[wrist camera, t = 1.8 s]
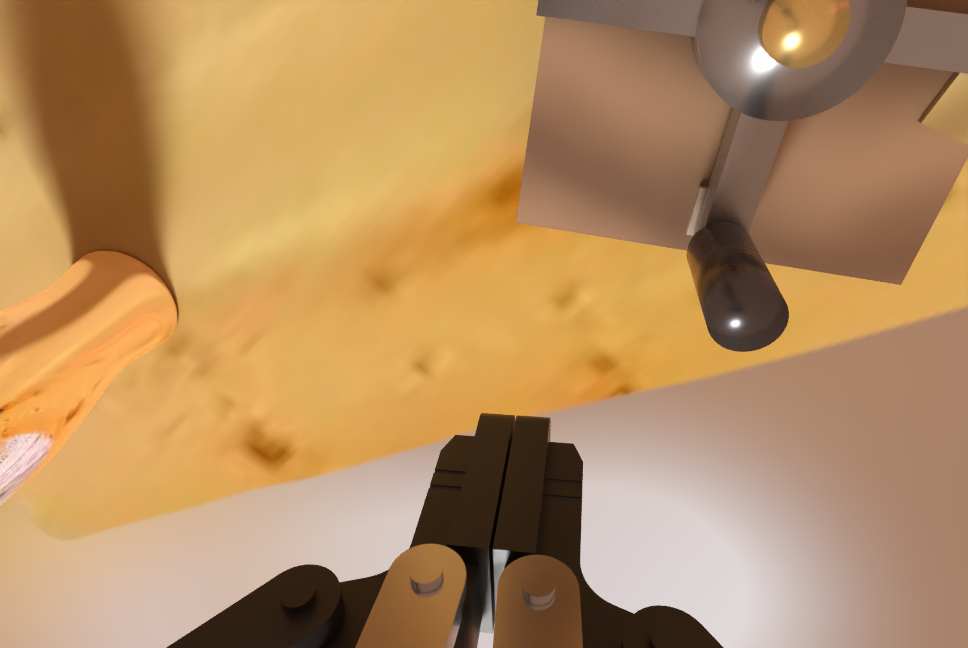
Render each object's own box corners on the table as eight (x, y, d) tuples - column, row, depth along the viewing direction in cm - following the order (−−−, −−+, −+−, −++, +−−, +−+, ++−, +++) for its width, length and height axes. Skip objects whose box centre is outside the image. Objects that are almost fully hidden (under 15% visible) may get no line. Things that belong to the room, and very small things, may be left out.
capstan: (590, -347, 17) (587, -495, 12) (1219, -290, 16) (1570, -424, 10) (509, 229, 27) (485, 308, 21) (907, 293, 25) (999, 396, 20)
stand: (592, -354, 19) (591, -389, 17) (1171, -301, 18) (1241, -332, 16) (513, 205, 28) (507, 224, 26) (887, 264, 27) (909, 288, 25)
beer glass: (95, 215, 32) (-232, 390, 19) (207, 303, 34) (-24, 515, 21) (48, 295, 35) (-258, 489, 23) (153, 372, 37) (-76, 591, 25)
